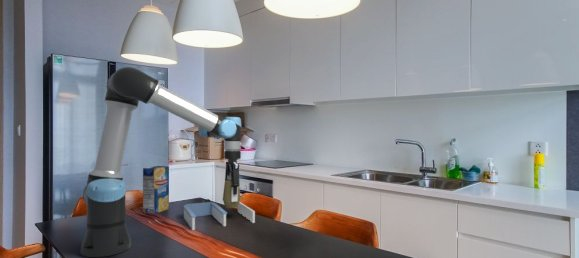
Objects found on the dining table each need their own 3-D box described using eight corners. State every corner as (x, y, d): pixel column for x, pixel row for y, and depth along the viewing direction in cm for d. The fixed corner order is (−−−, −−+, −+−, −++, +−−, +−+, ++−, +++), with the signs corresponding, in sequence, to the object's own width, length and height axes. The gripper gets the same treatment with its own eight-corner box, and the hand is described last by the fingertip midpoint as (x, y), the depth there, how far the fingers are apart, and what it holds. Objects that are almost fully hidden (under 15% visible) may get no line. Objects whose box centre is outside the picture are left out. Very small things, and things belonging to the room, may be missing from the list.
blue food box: (142, 212, 168) (142, 168, 168) (157, 207, 179) (158, 165, 179) (154, 213, 166) (154, 168, 166) (168, 208, 177) (169, 166, 177)
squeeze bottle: (237, 209, 153) (237, 169, 153) (219, 208, 154) (220, 168, 155) (242, 205, 161) (243, 167, 161) (226, 204, 162) (226, 166, 162)
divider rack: (254, 222, 151) (254, 209, 151) (191, 230, 139) (191, 215, 139) (239, 211, 172) (239, 199, 172) (182, 217, 160) (182, 204, 160)
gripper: (247, 151, 150) (246, 203, 150) (233, 149, 169) (233, 195, 169) (230, 151, 147) (229, 204, 147) (218, 149, 166) (218, 196, 165)
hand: (231, 199), depth 158 cm, fingers closed on squeeze bottle, 8 cm apart
